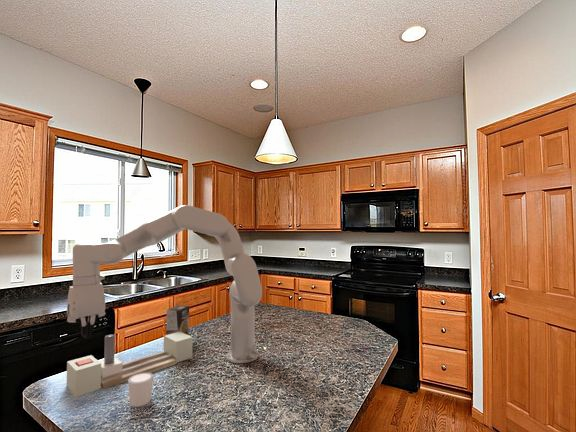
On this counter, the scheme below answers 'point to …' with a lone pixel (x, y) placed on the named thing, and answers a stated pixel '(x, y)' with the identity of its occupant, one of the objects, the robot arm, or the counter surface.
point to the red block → (83, 362)
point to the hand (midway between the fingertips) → (87, 336)
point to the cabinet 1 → (83, 376)
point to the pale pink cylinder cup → (140, 389)
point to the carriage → (110, 358)
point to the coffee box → (177, 320)
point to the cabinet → (178, 346)
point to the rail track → (139, 368)
